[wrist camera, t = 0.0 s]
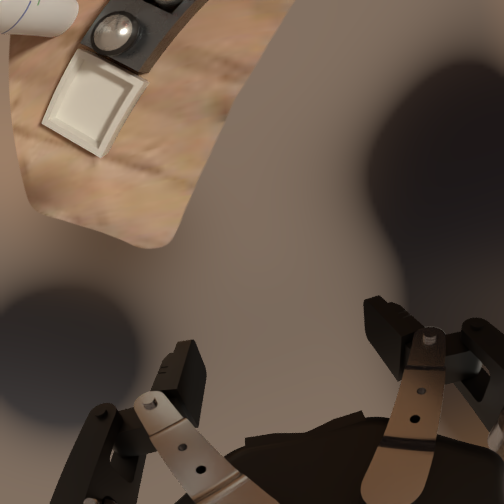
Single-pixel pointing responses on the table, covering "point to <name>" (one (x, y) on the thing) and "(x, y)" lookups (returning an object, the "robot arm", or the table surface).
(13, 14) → the cylindrical container
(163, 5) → the pin
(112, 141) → the dish
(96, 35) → the dark grey block
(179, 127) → the table surface
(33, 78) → the table surface
